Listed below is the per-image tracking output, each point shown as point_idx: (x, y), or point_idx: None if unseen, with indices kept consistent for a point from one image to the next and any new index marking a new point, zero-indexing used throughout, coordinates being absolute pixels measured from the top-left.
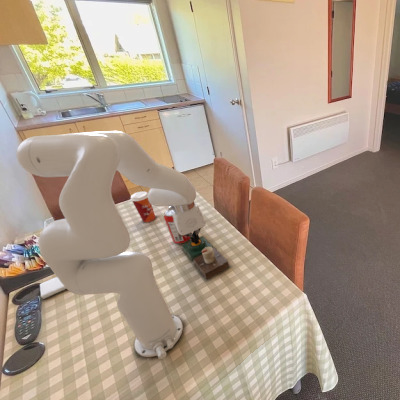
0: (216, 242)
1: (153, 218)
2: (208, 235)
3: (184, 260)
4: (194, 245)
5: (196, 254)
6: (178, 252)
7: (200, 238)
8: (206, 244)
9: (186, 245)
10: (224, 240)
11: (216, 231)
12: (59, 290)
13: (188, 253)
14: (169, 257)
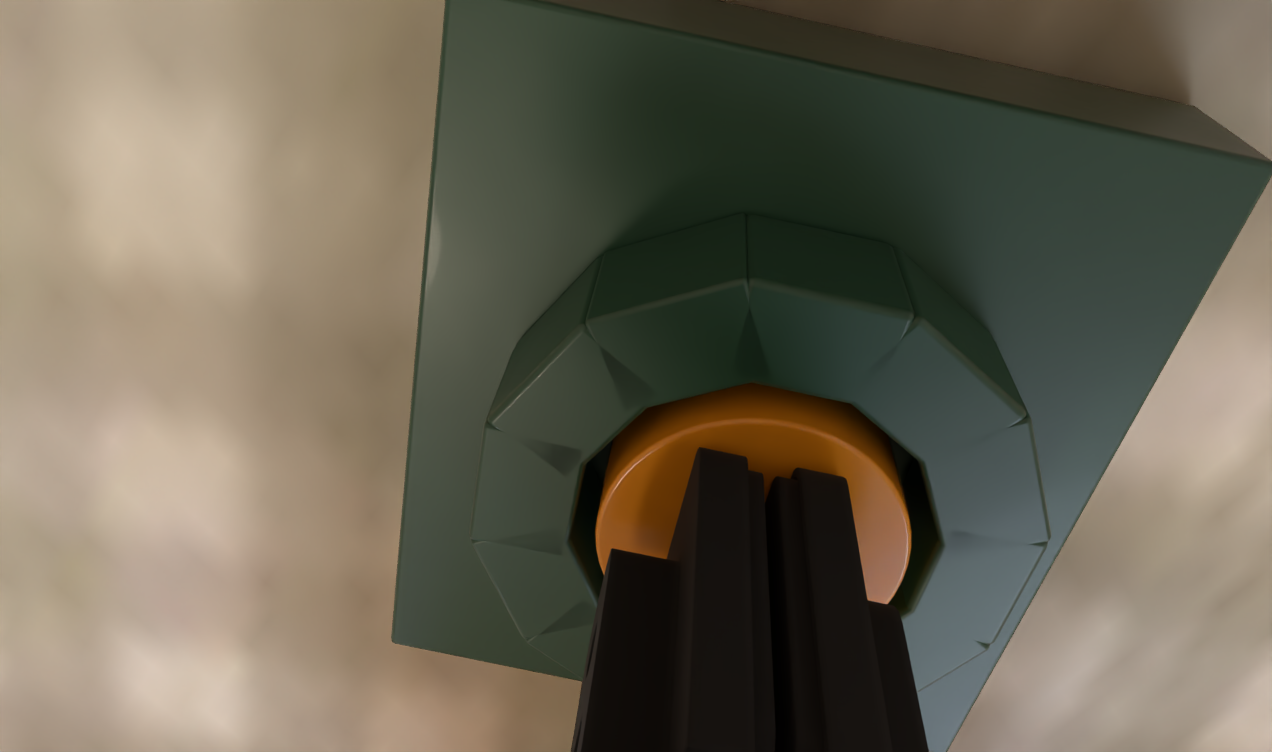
0: (243, 215)
1: None
2: (270, 583)
3: (1241, 336)
4: (889, 474)
5: (1076, 128)
6: (1047, 659)
7: (526, 588)
8: (526, 279)
9: None
10: (15, 83)
11: (59, 548)
12: None
13: (1145, 392)
14: (1264, 682)
